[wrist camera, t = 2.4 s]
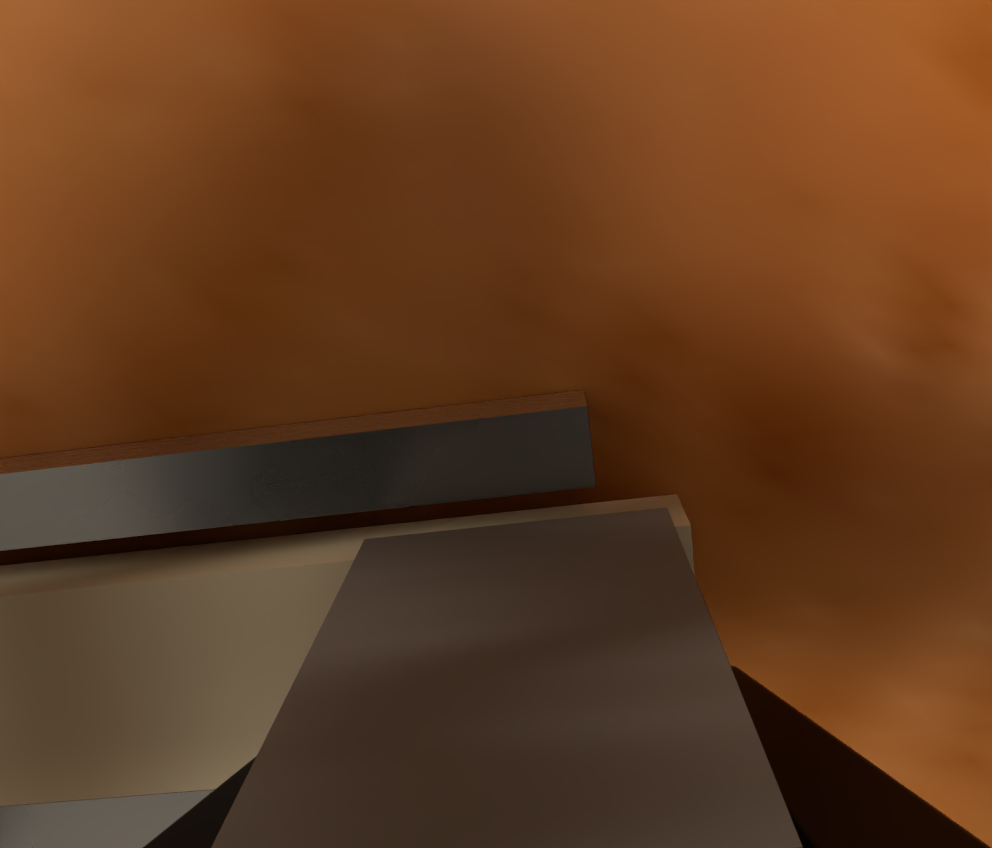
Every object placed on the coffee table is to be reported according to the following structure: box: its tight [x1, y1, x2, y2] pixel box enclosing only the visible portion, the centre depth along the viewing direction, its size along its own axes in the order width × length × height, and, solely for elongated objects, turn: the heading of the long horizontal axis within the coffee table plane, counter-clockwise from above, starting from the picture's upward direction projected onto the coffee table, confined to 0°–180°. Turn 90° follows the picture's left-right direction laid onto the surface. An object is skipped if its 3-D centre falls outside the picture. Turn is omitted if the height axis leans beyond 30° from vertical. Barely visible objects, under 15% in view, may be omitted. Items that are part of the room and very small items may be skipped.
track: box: [0, 390, 596, 848], centre depth 11 cm, size 13×6×1 cm, turn 98°
